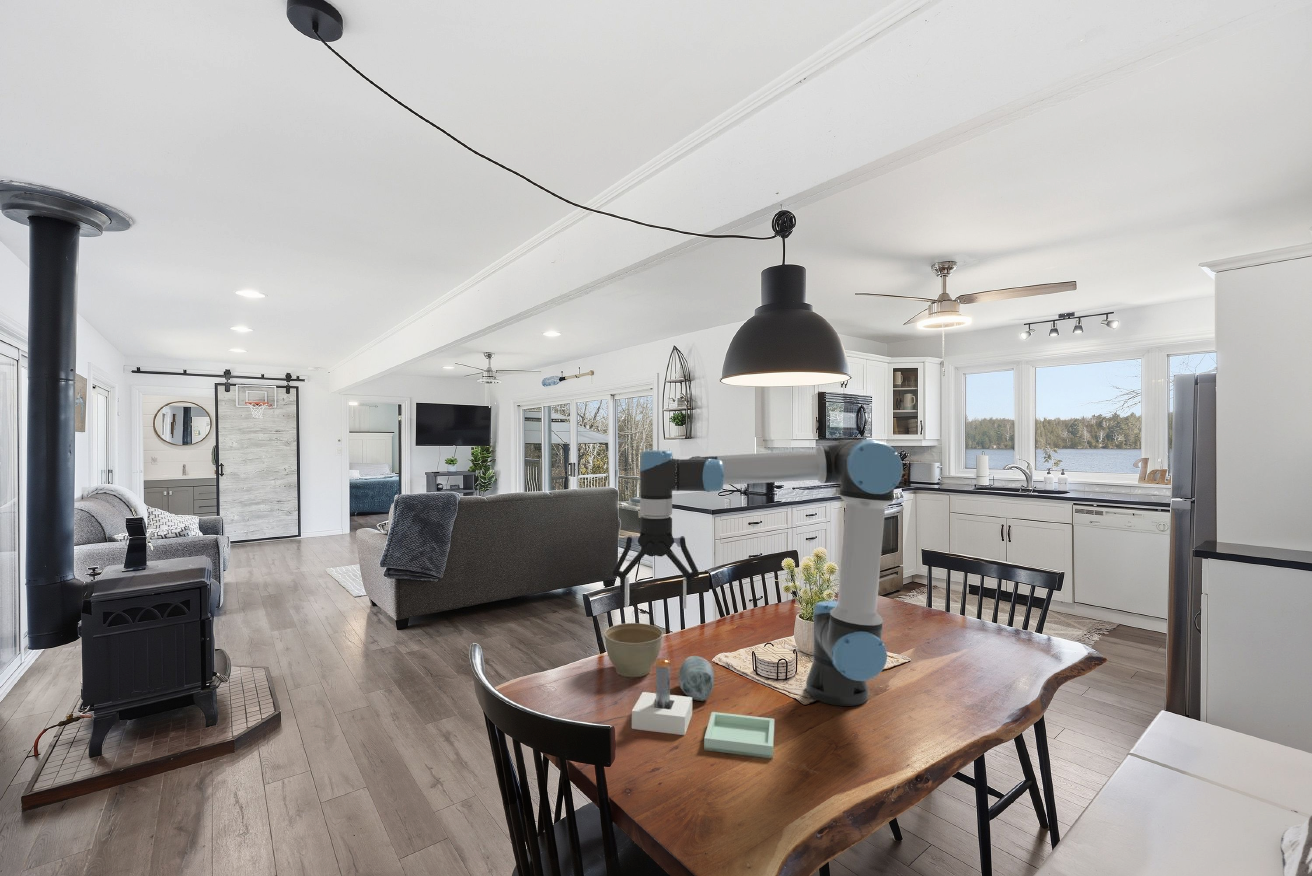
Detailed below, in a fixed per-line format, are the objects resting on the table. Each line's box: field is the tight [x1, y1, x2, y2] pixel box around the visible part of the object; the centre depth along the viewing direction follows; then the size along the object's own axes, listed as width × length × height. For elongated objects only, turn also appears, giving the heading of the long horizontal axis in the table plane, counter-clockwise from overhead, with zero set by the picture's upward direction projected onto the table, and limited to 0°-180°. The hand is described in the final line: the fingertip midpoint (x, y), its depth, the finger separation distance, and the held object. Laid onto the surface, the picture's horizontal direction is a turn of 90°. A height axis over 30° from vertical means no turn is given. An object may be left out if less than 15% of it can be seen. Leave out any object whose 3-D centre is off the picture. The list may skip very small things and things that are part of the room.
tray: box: [703, 711, 775, 760], centre depth 127 cm, size 14×12×2 cm
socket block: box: [631, 691, 693, 736], centre depth 135 cm, size 12×10×4 cm
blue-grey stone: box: [677, 655, 715, 702], centre depth 151 cm, size 14×10×10 cm
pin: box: [655, 657, 671, 709], centre depth 135 cm, size 3×3×14 cm
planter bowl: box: [603, 622, 664, 678], centre depth 164 cm, size 16×16×11 cm
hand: (655, 606), depth 139 cm, fingers open, 13 cm apart
